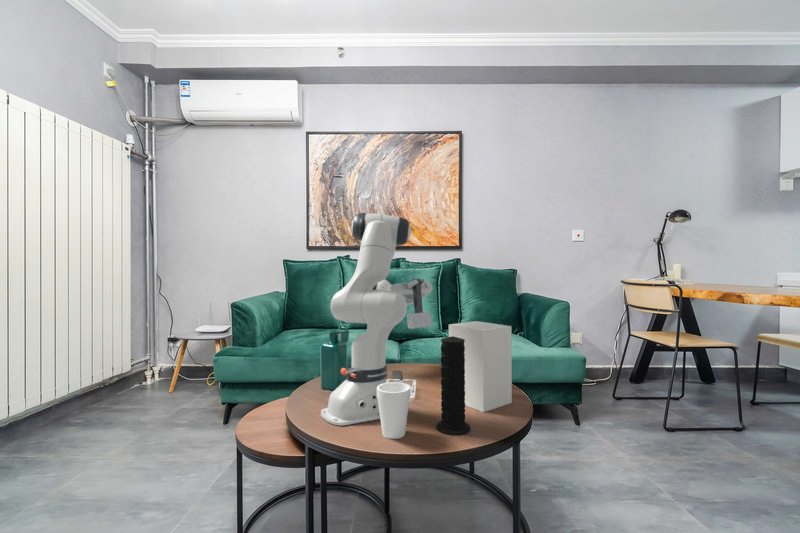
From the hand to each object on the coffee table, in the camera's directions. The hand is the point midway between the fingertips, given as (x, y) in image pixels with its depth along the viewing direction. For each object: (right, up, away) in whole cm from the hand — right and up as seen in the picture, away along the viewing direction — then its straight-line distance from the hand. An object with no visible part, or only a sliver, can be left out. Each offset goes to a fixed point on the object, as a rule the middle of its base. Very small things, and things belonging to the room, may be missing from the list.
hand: (420, 280), depth 162 cm
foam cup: (-10, -41, -52) cm, 67 cm away
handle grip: (+7, -41, -48) cm, 64 cm away
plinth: (+19, -40, -26) cm, 52 cm away
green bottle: (-33, -41, -10) cm, 54 cm away
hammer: (-2, -9, +3) cm, 10 cm away
